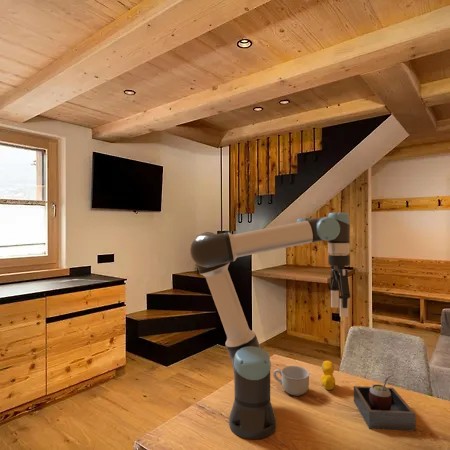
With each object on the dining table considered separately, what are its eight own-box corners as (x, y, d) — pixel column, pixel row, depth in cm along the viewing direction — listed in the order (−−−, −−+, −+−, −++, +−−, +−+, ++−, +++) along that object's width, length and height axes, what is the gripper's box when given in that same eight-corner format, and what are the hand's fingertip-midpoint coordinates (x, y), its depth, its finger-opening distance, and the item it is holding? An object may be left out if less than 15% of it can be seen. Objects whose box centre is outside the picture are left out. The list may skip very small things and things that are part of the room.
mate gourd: (370, 403, 120) (369, 361, 120) (394, 409, 116) (394, 366, 116) (367, 414, 113) (367, 369, 113) (394, 420, 109) (393, 374, 109)
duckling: (320, 380, 141) (320, 356, 141) (333, 381, 139) (333, 357, 139) (322, 393, 130) (321, 367, 130) (336, 394, 128) (336, 368, 128)
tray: (369, 428, 107) (369, 411, 107) (353, 401, 124) (353, 386, 124) (415, 431, 105) (415, 413, 106) (393, 402, 122) (393, 387, 122)
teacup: (313, 389, 132) (313, 369, 132) (303, 401, 123) (303, 380, 123) (280, 381, 140) (280, 361, 140) (269, 392, 131) (269, 371, 131)
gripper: (359, 257, 112) (360, 321, 111) (340, 251, 136) (341, 304, 136) (336, 257, 112) (337, 321, 112) (321, 251, 137) (322, 303, 137)
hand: (339, 311), depth 124 cm, fingers open, 13 cm apart
